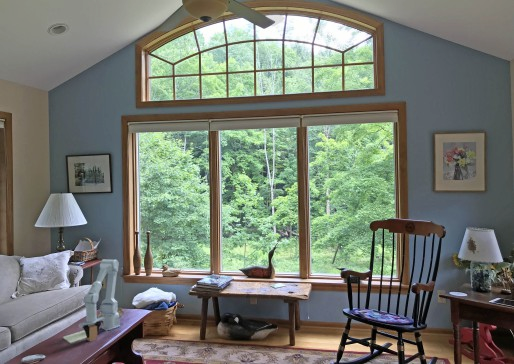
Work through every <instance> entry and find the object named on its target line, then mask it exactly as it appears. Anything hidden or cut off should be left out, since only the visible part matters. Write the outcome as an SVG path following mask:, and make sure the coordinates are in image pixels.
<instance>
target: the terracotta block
mask: <svg viewBox="0 0 514 364" xmlns="http://www.w3.org/2000/svg"><path fill="white" fill-rule="evenodd" d="M88 326H89V327H90V328H89V338H86V340H87V341H89V342H92V341H95V340H98V334H97V326H96V325H95V324H90V325H88Z"/></svg>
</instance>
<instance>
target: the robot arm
mask: <svg viewBox="0 0 514 364" xmlns="http://www.w3.org/2000/svg"><path fill="white" fill-rule="evenodd" d="M119 264H120V263H119V261H118V259H105V258H103V259H102V260H101V261H100V264H99V271H98V274H97V277H96V279H95V281H94V282H92V284H91V286H90V288H89V291H88V293H86V294H85V295H84V296H83V303H84V307H85V316H86V321H83V322H81V323H78V328H79V329H81V328H83V331H85V333H86V336H87V338H89V328H90V327H89V325H92V324H95V325H96V326H97V335H98V334H99V329H102V330H104V331H106V332H107V331H109V330H113V329H116V328H119V327H121V324H120V323H121V321H120V317H119V313H118V312H117V310H118V308H119V305H118V303H119V302H118V301H117V300H116V299H115V292H116V283H117V274H118V272H119ZM107 274H108V275H107ZM106 275H107V283H106V291H105V298H104V299H103V300H102V301H101V305H100V306H99V313H102V315H103V317H100V318H97V316H98V314H97V302H98V301H99V296H100V291H101V289H102V287H103V285H102V282H104V280H105V277H106ZM100 321H103V322H100ZM102 323H103V326H101V325H102ZM87 338H86V339H87Z"/></svg>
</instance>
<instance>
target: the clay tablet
mask: <svg viewBox="0 0 514 364" xmlns="http://www.w3.org/2000/svg"><path fill="white" fill-rule="evenodd" d="M117 312H118V313H119V318H121V317H122V316H123V314H124V312H125V311H124V310H123V307H118V310H117ZM100 317H103V315H102V313H101V312H99V313H98V314H97V318H100ZM100 322H101V323H103V321H100Z"/></svg>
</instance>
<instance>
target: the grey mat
mask: <svg viewBox="0 0 514 364" xmlns="http://www.w3.org/2000/svg"><path fill="white" fill-rule="evenodd" d="M62 339H63V340H65V341H66V342H67V343H69V344H73V343H74V344H75V343H76V342H80V341H83V340H87V336H86V333H85V331H84V330H81V331H77V332H74V333H71V334H69V335H68V334H67V335H64V336H63V337H62Z"/></svg>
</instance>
